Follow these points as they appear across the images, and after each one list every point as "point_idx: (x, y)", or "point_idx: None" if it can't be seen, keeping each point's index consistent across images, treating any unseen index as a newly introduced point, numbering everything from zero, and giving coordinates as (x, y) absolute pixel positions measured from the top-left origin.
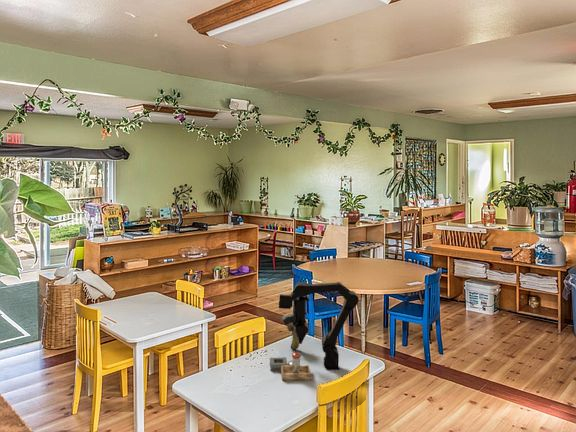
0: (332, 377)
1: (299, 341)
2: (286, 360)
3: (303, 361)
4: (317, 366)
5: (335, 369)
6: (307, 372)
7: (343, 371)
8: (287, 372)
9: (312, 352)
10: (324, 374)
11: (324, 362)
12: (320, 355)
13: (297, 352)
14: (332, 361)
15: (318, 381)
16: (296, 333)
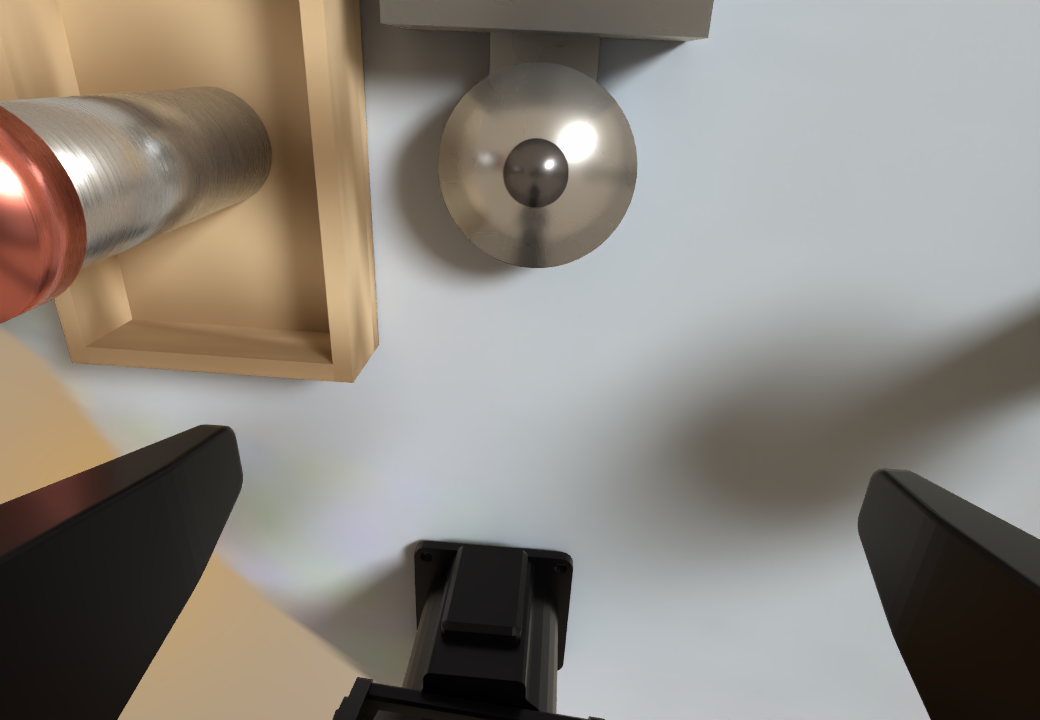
0: (239, 552)
1: (118, 478)
2: (562, 27)
3: (708, 338)
4: (523, 473)
5: (418, 621)
6: (302, 324)
7: (386, 669)
8: (277, 15)
9: (984, 507)
10: (304, 497)
11: (458, 583)
12: (848, 572)
13: (19, 268)
14: (405, 674)
15: (117, 401)
16: (960, 536)
